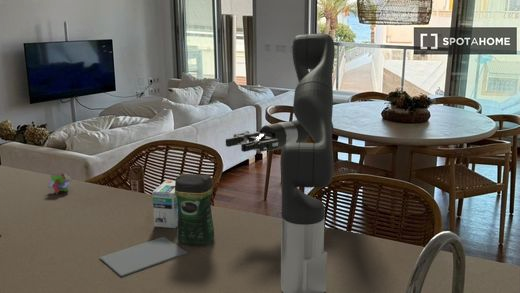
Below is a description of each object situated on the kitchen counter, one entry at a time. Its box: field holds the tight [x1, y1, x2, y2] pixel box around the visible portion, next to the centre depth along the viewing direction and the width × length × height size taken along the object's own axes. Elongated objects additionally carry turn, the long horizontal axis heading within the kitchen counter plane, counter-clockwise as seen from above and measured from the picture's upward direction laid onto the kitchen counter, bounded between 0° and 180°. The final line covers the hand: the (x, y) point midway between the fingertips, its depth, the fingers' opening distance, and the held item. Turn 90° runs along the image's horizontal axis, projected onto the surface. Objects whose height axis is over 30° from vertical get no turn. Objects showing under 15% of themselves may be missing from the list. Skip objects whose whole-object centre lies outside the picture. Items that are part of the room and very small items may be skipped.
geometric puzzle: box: [47, 172, 72, 196], centre depth 172 cm, size 7×7×8 cm
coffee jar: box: [174, 172, 215, 247], centre depth 134 cm, size 10×8×19 cm
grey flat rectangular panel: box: [99, 236, 188, 278], centre depth 128 cm, size 12×18×1 cm, turn 131°
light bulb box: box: [151, 179, 178, 229], centre depth 148 cm, size 11×7×11 cm, turn 168°
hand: (234, 145), depth 139 cm, fingers open, 6 cm apart
